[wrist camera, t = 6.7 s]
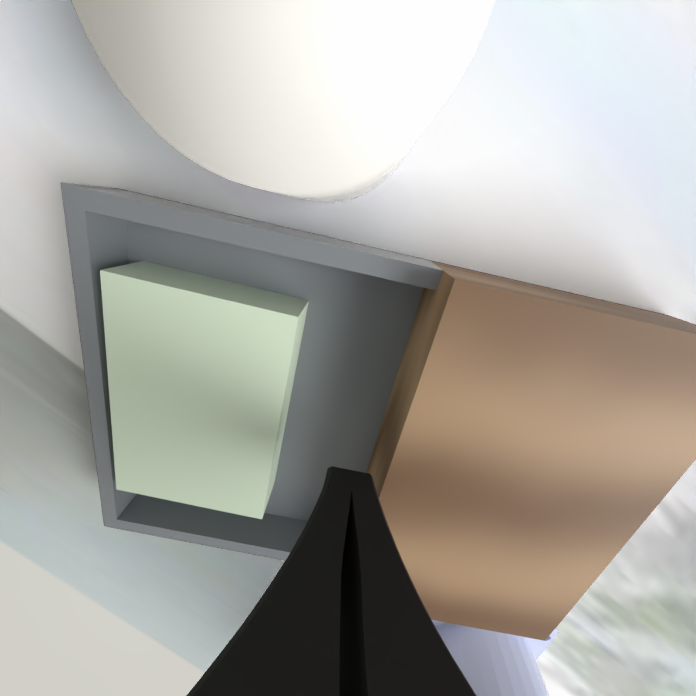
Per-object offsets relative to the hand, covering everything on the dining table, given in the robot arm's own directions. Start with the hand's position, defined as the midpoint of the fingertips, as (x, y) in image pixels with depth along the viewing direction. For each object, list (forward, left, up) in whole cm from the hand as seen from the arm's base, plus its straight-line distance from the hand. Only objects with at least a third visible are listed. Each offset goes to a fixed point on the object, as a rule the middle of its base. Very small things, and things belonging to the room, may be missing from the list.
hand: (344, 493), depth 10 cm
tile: (0, +6, -2) cm, 6 cm away
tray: (0, +4, -4) cm, 6 cm away
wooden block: (0, -6, -4) cm, 7 cm away
